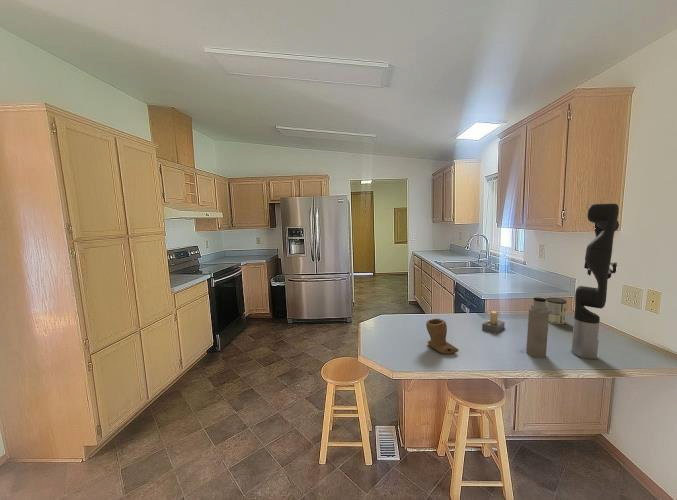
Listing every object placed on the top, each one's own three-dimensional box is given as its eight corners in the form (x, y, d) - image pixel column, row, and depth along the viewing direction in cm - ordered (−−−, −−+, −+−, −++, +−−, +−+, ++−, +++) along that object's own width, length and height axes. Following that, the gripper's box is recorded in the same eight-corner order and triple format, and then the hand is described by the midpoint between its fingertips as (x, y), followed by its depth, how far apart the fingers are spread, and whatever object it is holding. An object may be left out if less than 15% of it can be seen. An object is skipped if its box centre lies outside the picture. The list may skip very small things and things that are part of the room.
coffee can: (544, 317, 189) (545, 296, 188) (563, 320, 184) (565, 298, 182) (545, 322, 181) (546, 300, 179) (565, 325, 175) (567, 303, 173)
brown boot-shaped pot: (421, 344, 154) (422, 317, 152) (441, 341, 156) (441, 314, 155) (438, 357, 139) (438, 327, 137) (459, 354, 142) (460, 324, 140)
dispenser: (490, 325, 177) (490, 316, 176) (504, 329, 171) (504, 320, 171) (481, 330, 169) (482, 321, 168) (496, 335, 163) (497, 325, 163)
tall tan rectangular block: (492, 326, 172) (493, 310, 171) (496, 328, 170) (497, 311, 169) (489, 328, 170) (490, 312, 168) (494, 329, 168) (495, 313, 167)
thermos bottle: (528, 348, 146) (531, 295, 143) (547, 353, 141) (551, 298, 137) (524, 354, 140) (528, 298, 137) (544, 359, 135) (548, 301, 132)
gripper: (584, 252, 172) (581, 276, 178) (616, 256, 161) (612, 282, 167) (588, 247, 176) (585, 271, 182) (620, 251, 165) (616, 277, 171)
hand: (598, 276), depth 174 cm, fingers open, 8 cm apart
